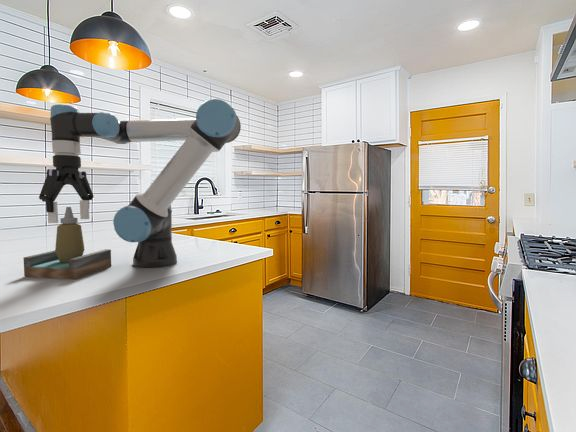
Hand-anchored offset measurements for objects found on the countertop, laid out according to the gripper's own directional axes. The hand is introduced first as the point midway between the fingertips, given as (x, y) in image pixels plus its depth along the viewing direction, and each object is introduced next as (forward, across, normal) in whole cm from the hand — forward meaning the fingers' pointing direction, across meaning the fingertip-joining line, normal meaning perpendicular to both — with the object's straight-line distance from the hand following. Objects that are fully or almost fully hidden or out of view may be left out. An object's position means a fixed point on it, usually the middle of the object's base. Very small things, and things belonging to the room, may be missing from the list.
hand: (70, 221), depth 107 cm
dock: (+17, 0, -1) cm, 17 cm away
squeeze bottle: (+14, 0, 0) cm, 14 cm away
